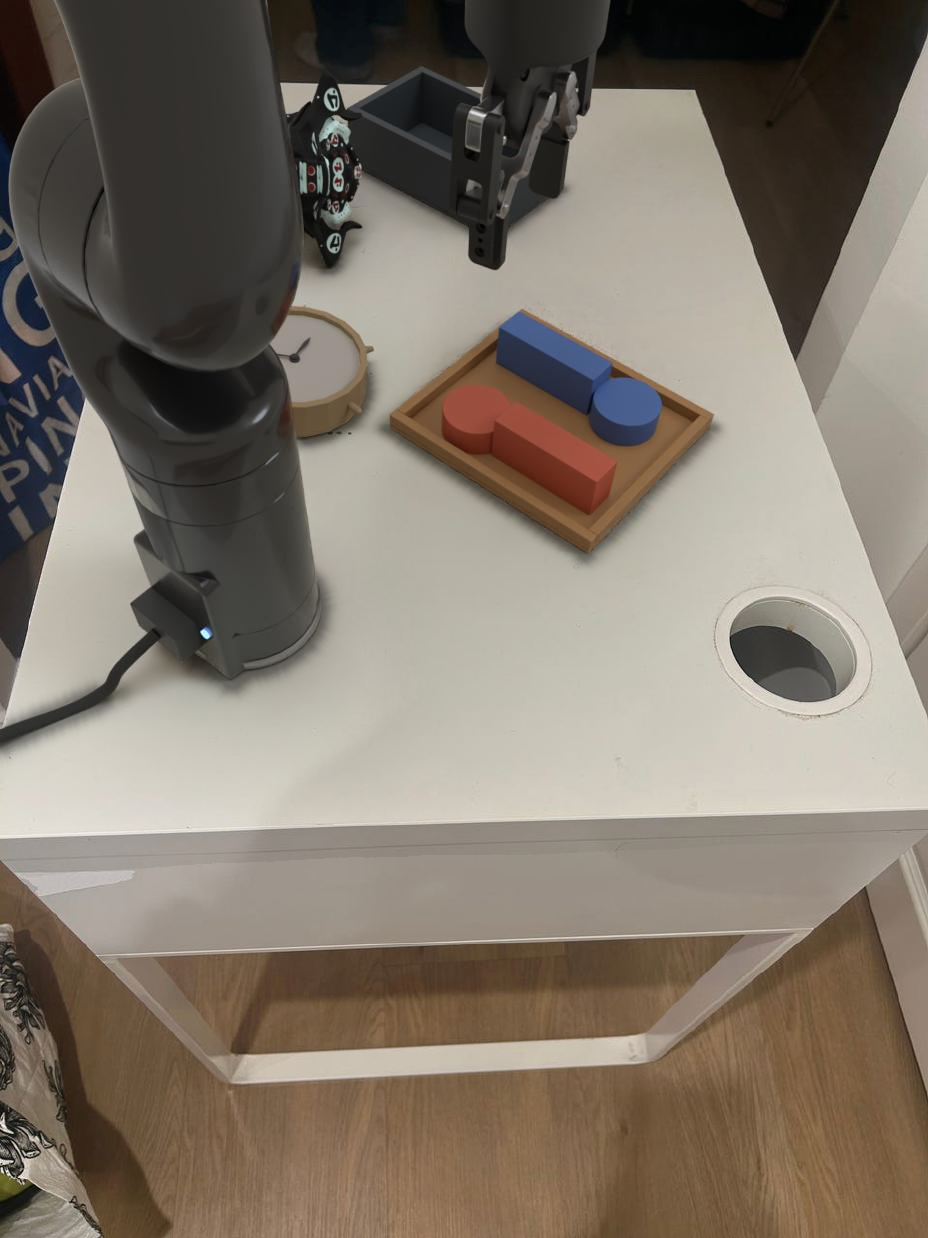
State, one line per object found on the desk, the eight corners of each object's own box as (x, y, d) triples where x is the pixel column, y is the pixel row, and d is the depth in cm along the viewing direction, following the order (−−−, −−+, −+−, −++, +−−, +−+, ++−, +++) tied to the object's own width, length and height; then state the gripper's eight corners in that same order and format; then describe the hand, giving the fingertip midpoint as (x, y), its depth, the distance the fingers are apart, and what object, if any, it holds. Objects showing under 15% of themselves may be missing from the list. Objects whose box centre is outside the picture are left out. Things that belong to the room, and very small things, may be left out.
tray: (587, 554, 68) (590, 541, 67) (389, 427, 74) (389, 414, 73) (709, 427, 76) (714, 413, 75) (520, 321, 82) (522, 308, 81)
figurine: (196, 260, 85) (322, 280, 79) (181, 62, 78) (318, 69, 72) (273, 247, 93) (392, 265, 87) (265, 67, 86) (395, 74, 80)
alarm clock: (362, 417, 71) (152, 374, 69) (354, 463, 75) (154, 423, 73) (379, 317, 77) (187, 274, 75) (370, 363, 81) (188, 324, 79)
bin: (492, 238, 88) (496, 183, 84) (349, 163, 94) (346, 107, 90) (560, 188, 93) (568, 134, 89) (421, 120, 99) (421, 65, 94)
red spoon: (578, 526, 69) (585, 492, 66) (427, 431, 74) (428, 396, 71) (619, 485, 72) (628, 450, 69) (470, 395, 76) (472, 359, 73)
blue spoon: (524, 338, 80) (528, 302, 77) (668, 419, 76) (679, 384, 73) (485, 371, 78) (488, 334, 75) (631, 456, 73) (641, 422, 70)
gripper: (536, -130, 53) (513, 155, 66) (406, -27, 46) (409, 269, 59) (665, -97, 51) (614, 188, 64) (551, 15, 44) (520, 310, 57)
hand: (516, 227), depth 62 cm, fingers open, 8 cm apart
